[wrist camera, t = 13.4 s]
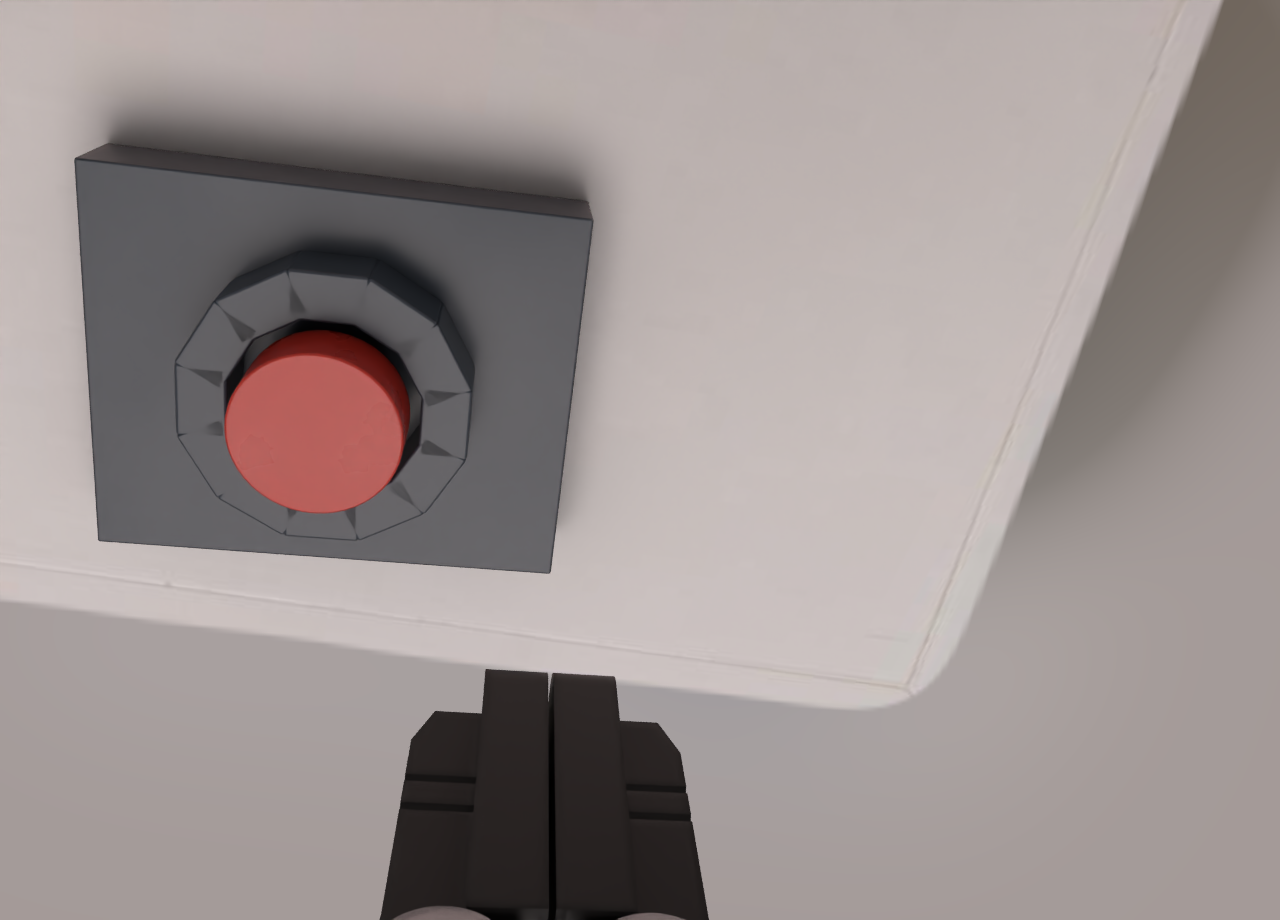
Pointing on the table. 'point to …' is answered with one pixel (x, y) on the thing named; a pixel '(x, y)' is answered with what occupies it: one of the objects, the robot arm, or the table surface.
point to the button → (318, 422)
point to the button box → (337, 301)
